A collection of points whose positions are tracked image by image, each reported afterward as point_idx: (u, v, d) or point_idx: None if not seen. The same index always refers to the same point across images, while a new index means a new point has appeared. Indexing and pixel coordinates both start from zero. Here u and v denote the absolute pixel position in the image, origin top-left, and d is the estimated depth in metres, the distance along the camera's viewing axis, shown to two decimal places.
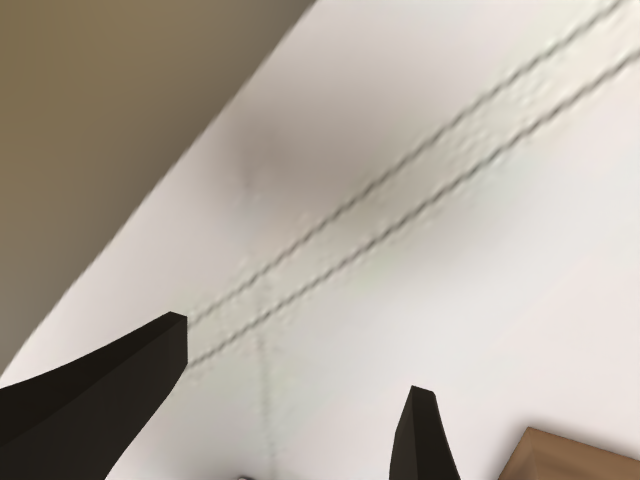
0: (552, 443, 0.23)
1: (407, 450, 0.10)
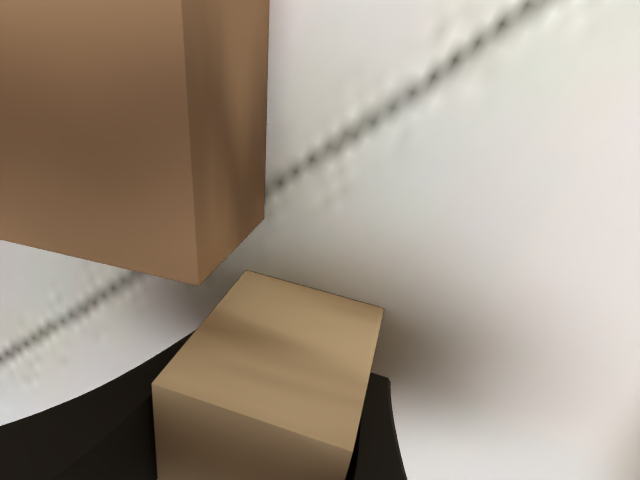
0: None
1: None
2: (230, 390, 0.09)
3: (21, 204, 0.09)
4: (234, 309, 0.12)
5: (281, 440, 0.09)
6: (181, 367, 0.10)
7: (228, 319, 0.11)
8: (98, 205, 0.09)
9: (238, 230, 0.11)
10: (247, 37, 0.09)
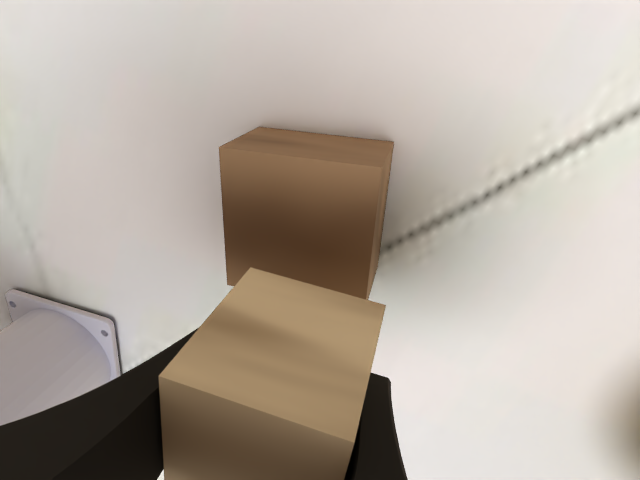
0: (278, 132, 0.18)
1: None
2: (234, 383, 0.09)
3: (262, 269, 0.17)
4: (238, 305, 0.12)
5: (285, 432, 0.09)
6: (187, 360, 0.10)
7: (233, 315, 0.11)
8: (311, 270, 0.17)
9: (373, 277, 0.18)
10: (386, 177, 0.17)
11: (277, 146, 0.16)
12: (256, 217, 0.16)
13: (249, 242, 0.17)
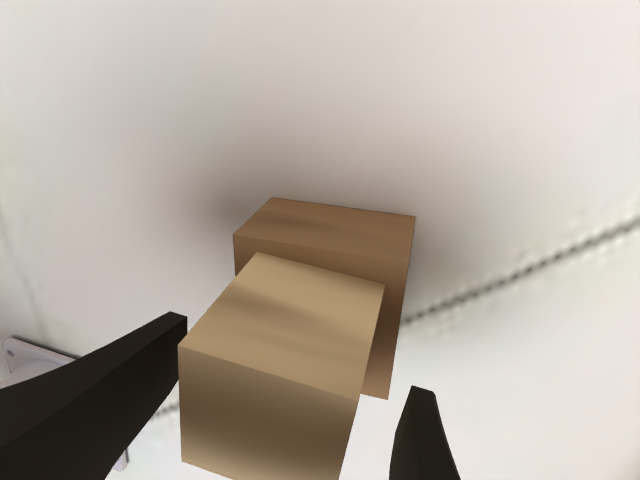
0: (293, 206, 0.17)
1: (407, 450, 0.10)
2: (247, 351, 0.10)
3: None
4: (248, 284, 0.13)
5: (294, 394, 0.10)
6: (203, 332, 0.11)
7: (243, 293, 0.12)
8: None
9: None
10: None
11: (294, 230, 0.15)
12: None
13: None
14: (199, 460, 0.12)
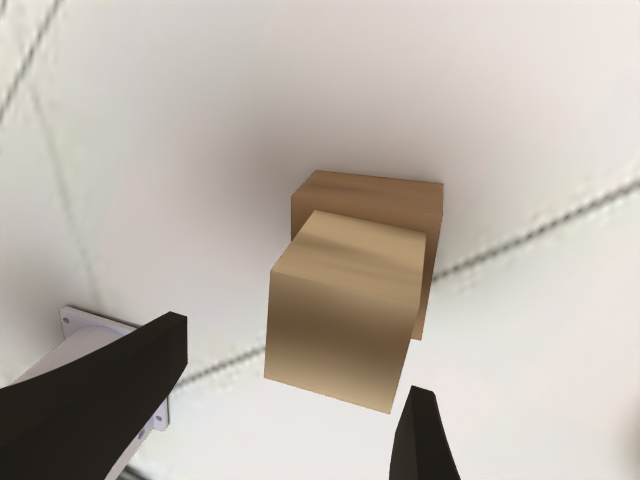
0: (336, 177, 0.19)
1: (407, 450, 0.10)
2: (325, 275, 0.13)
3: None
4: (314, 232, 0.15)
5: (366, 305, 0.12)
6: (287, 262, 0.13)
7: (311, 237, 0.15)
8: None
9: None
10: None
11: (342, 193, 0.18)
12: None
13: None
14: (280, 374, 0.14)
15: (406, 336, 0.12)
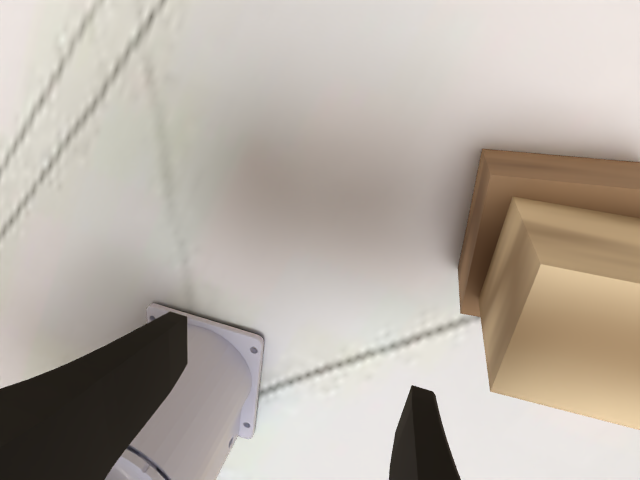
0: (513, 155, 0.17)
1: (407, 450, 0.10)
2: (604, 268, 0.11)
3: None
4: (538, 220, 0.13)
5: None
6: (549, 254, 0.11)
7: (542, 226, 0.13)
8: None
9: None
10: None
11: (543, 171, 0.15)
12: None
13: None
14: (514, 388, 0.12)
15: None
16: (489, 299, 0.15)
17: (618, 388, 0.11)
